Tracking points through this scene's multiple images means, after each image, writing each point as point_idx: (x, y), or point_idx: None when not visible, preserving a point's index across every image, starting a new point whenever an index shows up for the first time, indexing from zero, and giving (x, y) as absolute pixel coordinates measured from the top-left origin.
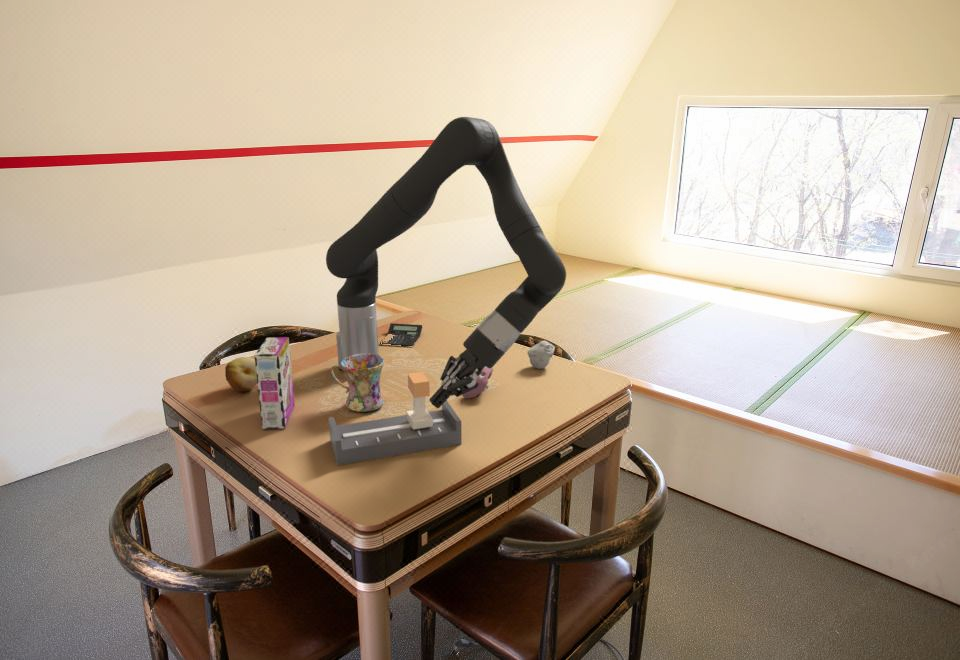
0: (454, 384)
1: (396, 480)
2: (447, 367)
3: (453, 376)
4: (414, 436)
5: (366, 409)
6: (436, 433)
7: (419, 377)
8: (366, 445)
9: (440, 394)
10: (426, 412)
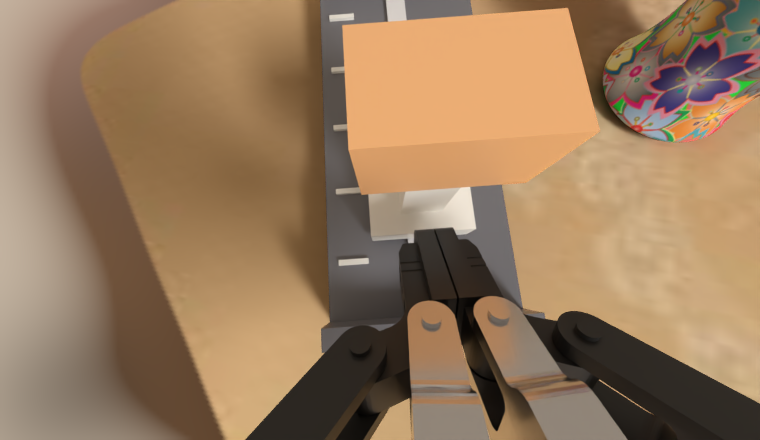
0: (334, 397)
1: (215, 125)
2: (739, 432)
3: (416, 435)
4: (334, 172)
5: (606, 82)
6: (334, 246)
7: (462, 85)
8: (324, 40)
9: (424, 279)
10: (435, 222)
